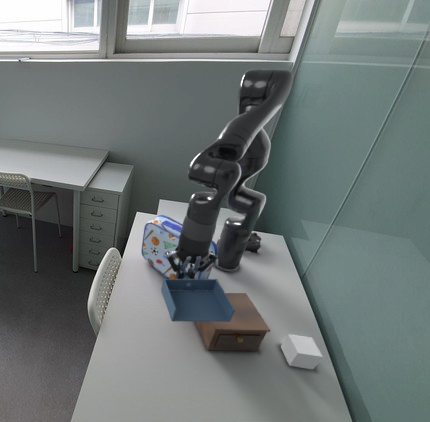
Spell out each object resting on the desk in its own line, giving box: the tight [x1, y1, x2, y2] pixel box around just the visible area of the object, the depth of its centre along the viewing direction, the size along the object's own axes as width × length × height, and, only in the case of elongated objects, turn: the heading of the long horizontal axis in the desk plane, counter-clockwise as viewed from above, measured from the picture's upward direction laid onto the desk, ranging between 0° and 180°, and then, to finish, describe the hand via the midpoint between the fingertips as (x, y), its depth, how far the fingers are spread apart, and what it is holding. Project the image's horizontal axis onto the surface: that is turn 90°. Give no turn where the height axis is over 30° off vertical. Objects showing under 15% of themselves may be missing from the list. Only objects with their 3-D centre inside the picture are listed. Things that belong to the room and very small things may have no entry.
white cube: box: [280, 333, 324, 370], centre depth 86 cm, size 6×6×6 cm
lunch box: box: [141, 214, 218, 291], centre depth 112 cm, size 28×10×22 cm, turn 37°
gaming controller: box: [244, 232, 262, 254], centre depth 130 cm, size 14×6×10 cm
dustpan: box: [160, 259, 235, 323], centre depth 83 cm, size 20×14×4 cm
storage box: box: [195, 292, 271, 352], centre depth 92 cm, size 15×15×10 cm
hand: (183, 280), depth 87 cm, fingers closed on dustpan, 2 cm apart
